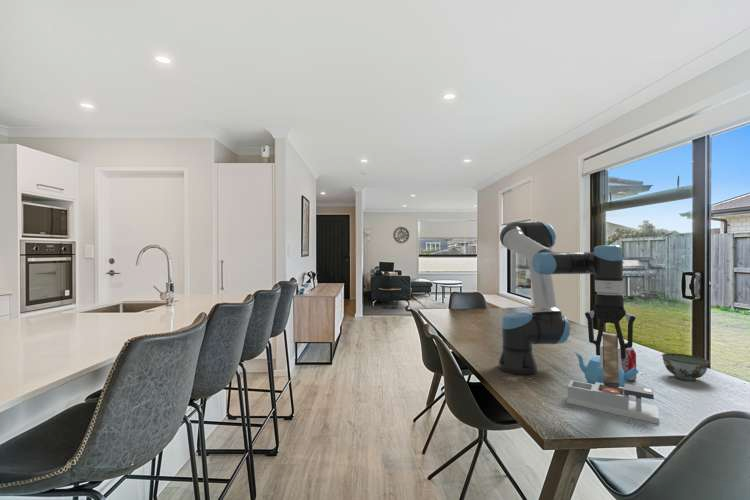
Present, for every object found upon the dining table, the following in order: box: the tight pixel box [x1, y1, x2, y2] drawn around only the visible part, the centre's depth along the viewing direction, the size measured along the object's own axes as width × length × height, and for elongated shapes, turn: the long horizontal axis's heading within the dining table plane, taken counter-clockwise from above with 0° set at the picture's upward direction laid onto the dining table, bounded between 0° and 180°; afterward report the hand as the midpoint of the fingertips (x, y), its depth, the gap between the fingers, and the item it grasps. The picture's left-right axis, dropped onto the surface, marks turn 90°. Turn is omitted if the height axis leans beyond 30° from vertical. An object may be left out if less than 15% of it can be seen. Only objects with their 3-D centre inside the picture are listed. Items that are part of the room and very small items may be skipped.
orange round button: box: [602, 388, 620, 395], centre depth 109 cm, size 5×5×1 cm
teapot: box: [573, 352, 640, 387], centre depth 125 cm, size 15×14×11 cm
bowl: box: [661, 352, 710, 382], centre depth 133 cm, size 14×13×8 cm
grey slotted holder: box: [566, 379, 660, 424], centre depth 109 cm, size 23×10×6 cm, turn 52°
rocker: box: [623, 383, 655, 400], centre depth 105 cm, size 7×6×2 cm
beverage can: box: [618, 345, 637, 382], centre depth 133 cm, size 6×6×12 cm
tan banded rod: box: [602, 332, 619, 388], centre depth 109 cm, size 4×4×16 cm
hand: (610, 367), depth 109 cm, fingers closed on tan banded rod, 4 cm apart
